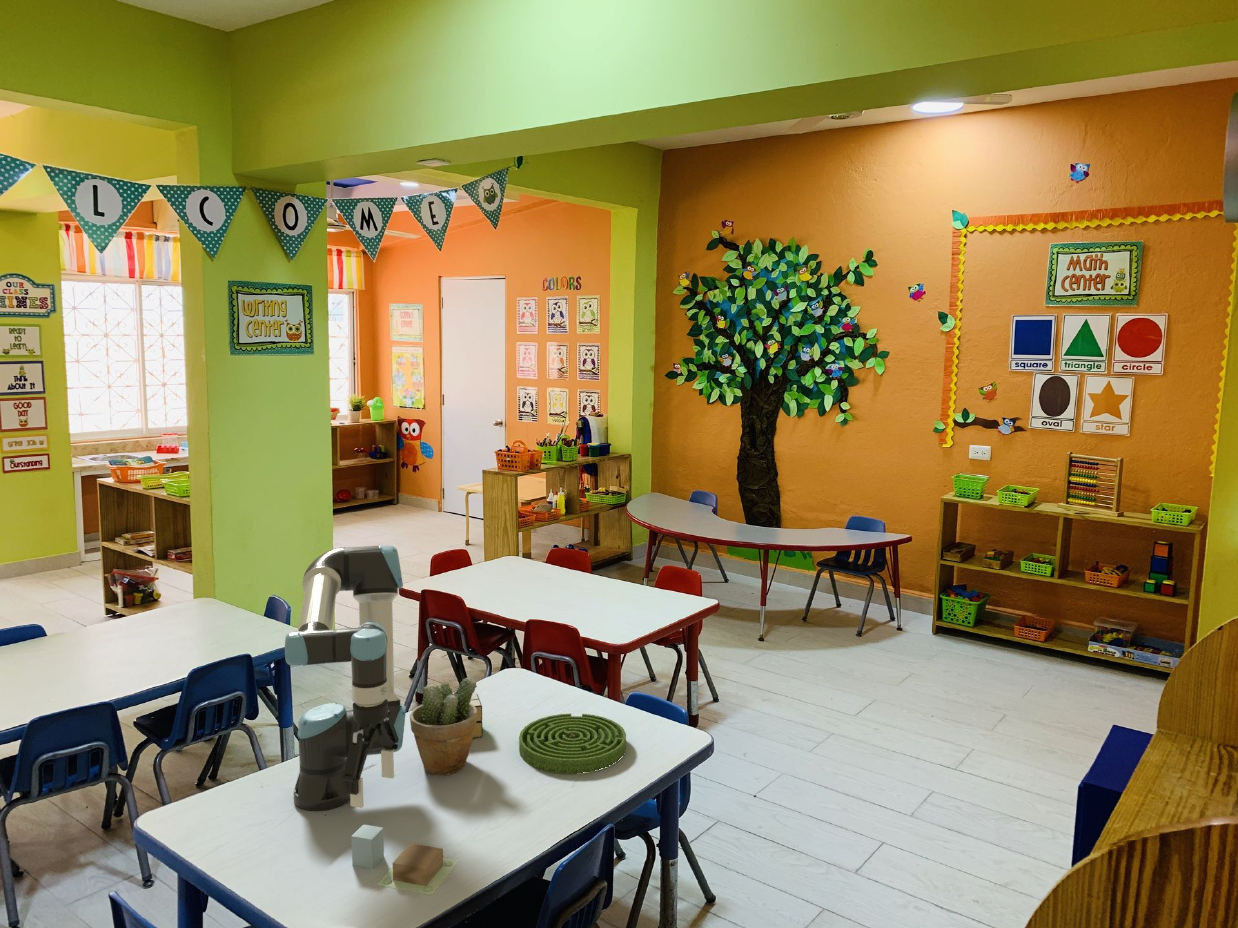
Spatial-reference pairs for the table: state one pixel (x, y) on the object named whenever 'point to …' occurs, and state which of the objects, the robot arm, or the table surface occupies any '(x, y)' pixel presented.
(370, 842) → the column brick
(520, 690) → the table surface
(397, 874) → the base brick
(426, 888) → the plate
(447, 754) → the potted plant
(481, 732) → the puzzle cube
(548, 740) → the maze
